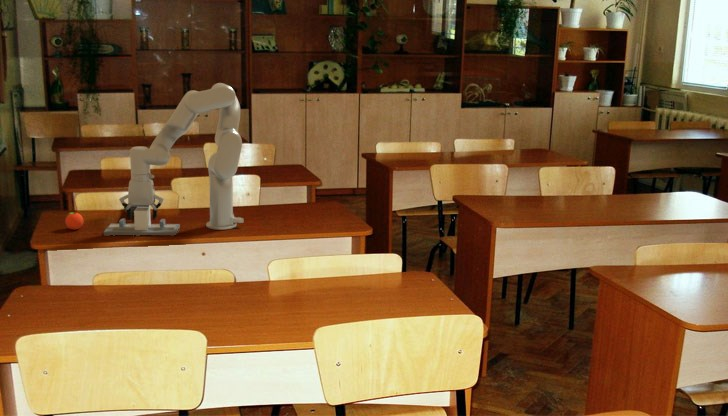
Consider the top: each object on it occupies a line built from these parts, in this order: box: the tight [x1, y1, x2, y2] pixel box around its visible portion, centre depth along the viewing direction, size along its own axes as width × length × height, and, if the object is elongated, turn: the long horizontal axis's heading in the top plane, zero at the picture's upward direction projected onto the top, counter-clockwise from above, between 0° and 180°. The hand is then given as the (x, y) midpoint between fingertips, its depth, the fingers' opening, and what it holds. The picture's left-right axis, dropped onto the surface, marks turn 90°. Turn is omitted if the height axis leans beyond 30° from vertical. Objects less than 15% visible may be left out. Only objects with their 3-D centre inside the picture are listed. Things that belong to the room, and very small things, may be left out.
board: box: [103, 223, 181, 237], centre depth 306 cm, size 28×13×2 cm, turn 96°
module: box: [133, 206, 152, 230], centre depth 305 cm, size 5×7×8 cm
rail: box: [108, 218, 176, 229], centre depth 306 cm, size 26×4×3 cm, turn 96°
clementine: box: [65, 212, 85, 231], centre depth 306 cm, size 8×7×7 cm
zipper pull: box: [123, 202, 150, 216], centre depth 333 cm, size 9×7×25 cm
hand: (142, 218), depth 305 cm, fingers open, 9 cm apart
